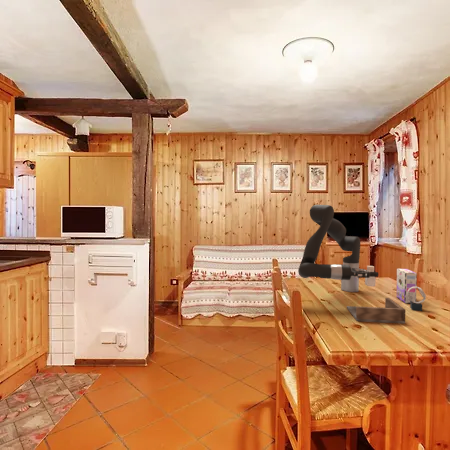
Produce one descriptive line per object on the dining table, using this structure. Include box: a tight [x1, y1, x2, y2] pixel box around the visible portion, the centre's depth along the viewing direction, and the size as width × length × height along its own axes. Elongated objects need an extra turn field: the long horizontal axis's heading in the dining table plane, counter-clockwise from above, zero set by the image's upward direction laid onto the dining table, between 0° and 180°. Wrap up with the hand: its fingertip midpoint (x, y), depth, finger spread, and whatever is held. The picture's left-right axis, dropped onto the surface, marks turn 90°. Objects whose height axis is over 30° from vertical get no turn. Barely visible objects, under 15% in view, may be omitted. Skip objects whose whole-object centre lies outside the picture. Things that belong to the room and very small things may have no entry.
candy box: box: [396, 268, 418, 304], centre depth 173 cm, size 14×6×16 cm, turn 168°
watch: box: [407, 286, 427, 312], centre depth 157 cm, size 6×8×11 cm
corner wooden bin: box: [346, 297, 406, 324], centre depth 147 cm, size 20×20×6 cm
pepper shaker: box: [364, 265, 377, 287], centre depth 155 cm, size 4×4×10 cm
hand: (376, 273), depth 155 cm, fingers closed on pepper shaker, 4 cm apart
